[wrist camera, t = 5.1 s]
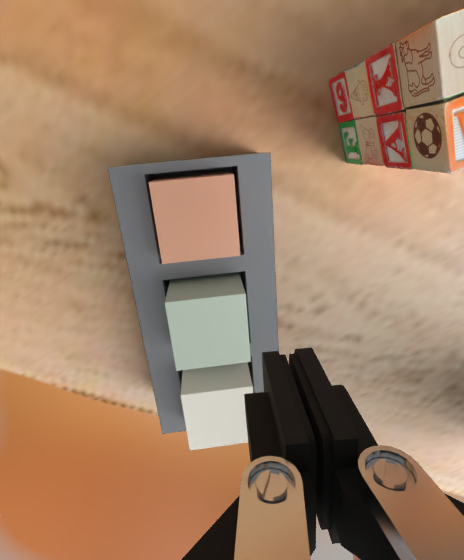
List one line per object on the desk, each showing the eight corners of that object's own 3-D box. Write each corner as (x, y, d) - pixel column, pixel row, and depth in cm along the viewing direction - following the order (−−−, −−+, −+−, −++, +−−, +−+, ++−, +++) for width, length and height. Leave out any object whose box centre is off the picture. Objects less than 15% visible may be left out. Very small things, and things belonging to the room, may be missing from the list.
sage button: (237, 268, 26) (245, 293, 21) (242, 326, 27) (250, 361, 23) (171, 275, 25) (164, 302, 21) (180, 333, 27) (176, 370, 22)
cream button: (244, 347, 28) (252, 386, 23) (248, 396, 30) (257, 441, 25) (184, 354, 28) (180, 395, 23) (191, 403, 30) (189, 450, 25)
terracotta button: (227, 170, 25) (234, 174, 20) (233, 237, 26) (240, 255, 22) (158, 177, 24) (148, 182, 20) (169, 244, 26) (162, 264, 21)
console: (257, 152, 26) (270, 152, 21) (270, 380, 33) (281, 418, 28) (124, 165, 25) (107, 167, 20) (168, 393, 33) (162, 433, 28)
